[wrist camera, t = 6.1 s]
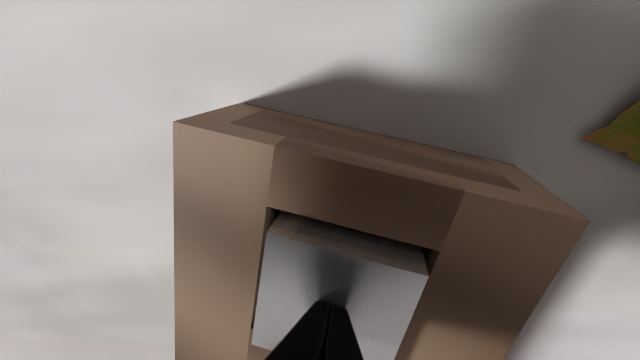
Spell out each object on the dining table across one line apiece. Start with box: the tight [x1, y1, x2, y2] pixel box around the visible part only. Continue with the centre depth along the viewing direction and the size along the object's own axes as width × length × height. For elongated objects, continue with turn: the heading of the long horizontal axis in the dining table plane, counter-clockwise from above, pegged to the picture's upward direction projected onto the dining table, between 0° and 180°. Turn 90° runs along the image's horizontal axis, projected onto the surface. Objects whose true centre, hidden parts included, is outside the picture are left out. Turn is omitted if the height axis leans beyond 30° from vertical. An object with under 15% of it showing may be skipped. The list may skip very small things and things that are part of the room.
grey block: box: [251, 210, 429, 360], centre depth 10 cm, size 4×4×4 cm
